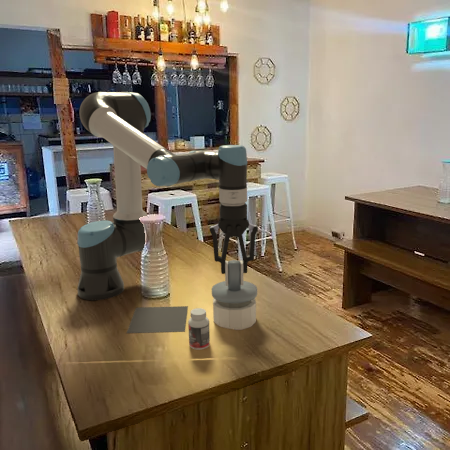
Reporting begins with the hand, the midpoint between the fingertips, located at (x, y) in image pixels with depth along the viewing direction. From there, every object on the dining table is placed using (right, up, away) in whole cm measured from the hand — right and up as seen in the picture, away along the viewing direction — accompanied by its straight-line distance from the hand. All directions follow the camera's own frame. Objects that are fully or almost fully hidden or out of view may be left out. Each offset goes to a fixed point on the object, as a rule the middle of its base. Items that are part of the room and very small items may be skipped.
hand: (234, 283), depth 128 cm
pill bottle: (-9, -15, -11) cm, 21 cm away
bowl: (0, -11, +3) cm, 11 cm away
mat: (-22, -11, +3) cm, 25 cm away
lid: (0, -3, +1) cm, 3 cm away
